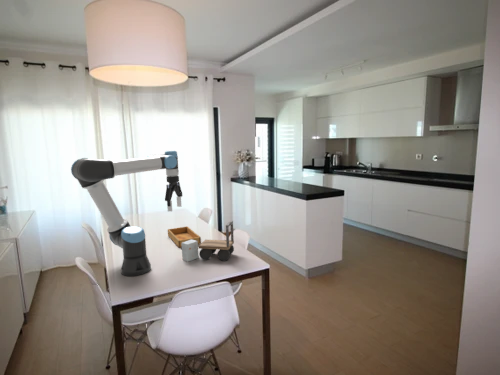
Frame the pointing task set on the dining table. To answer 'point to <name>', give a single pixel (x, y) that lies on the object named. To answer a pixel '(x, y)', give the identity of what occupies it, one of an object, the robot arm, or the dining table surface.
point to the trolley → (218, 246)
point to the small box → (190, 250)
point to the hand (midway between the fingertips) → (174, 208)
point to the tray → (183, 235)
